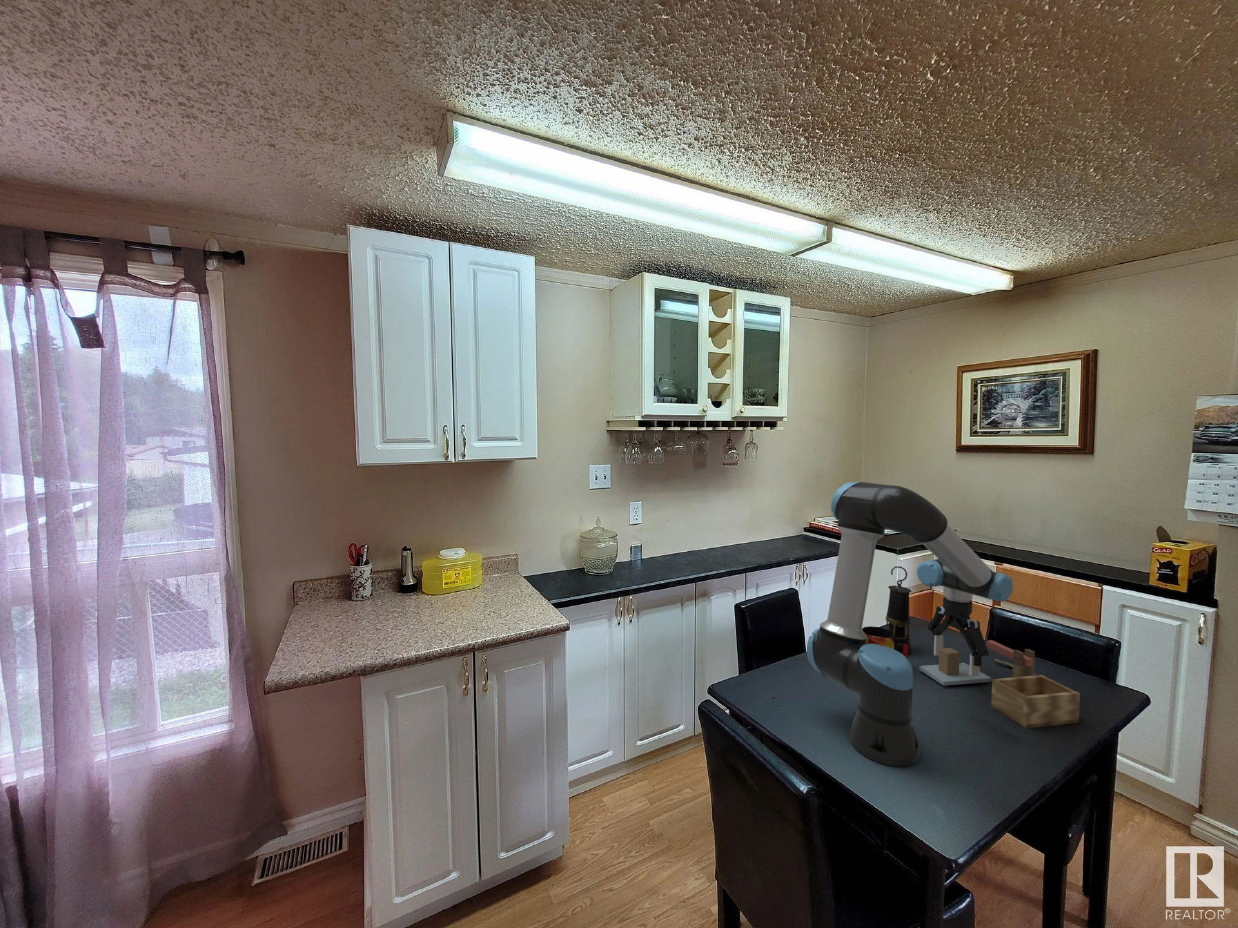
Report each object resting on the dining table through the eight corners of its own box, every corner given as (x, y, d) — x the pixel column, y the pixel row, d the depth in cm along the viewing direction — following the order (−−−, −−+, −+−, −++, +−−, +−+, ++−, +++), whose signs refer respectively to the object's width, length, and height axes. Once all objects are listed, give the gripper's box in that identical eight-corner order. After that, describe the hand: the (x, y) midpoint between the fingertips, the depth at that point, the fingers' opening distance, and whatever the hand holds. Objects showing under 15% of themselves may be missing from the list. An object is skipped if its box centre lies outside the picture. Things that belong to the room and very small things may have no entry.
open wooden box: (1026, 728, 125) (1027, 698, 125) (991, 706, 135) (992, 679, 135) (1078, 722, 127) (1079, 693, 127) (1040, 701, 137) (1041, 674, 137)
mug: (908, 667, 158) (909, 632, 157) (880, 677, 152) (881, 640, 151) (881, 656, 167) (882, 622, 166) (854, 664, 161) (854, 629, 160)
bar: (1026, 666, 139) (1026, 659, 138) (986, 646, 151) (986, 640, 151) (1032, 665, 139) (1032, 658, 139) (991, 646, 152) (992, 640, 152)
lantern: (901, 657, 165) (903, 571, 164) (876, 647, 173) (878, 565, 172) (916, 651, 170) (918, 568, 168) (891, 642, 178) (893, 562, 176)
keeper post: (1018, 697, 140) (1020, 652, 139) (1011, 693, 142) (1013, 649, 141) (1033, 696, 140) (1035, 651, 140) (1026, 692, 142) (1028, 648, 142)
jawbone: (1022, 667, 160) (1023, 661, 160) (1071, 701, 140) (1072, 694, 140) (993, 663, 161) (993, 657, 161) (1037, 697, 141) (1038, 690, 141)
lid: (943, 688, 145) (944, 659, 145) (919, 672, 155) (919, 644, 155) (991, 684, 147) (992, 655, 147) (963, 669, 157) (964, 641, 157)
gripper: (1005, 612, 138) (1002, 683, 139) (936, 585, 163) (934, 646, 164) (982, 613, 137) (979, 685, 138) (916, 586, 162) (915, 648, 163)
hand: (955, 664), depth 151 cm, fingers open, 13 cm apart
